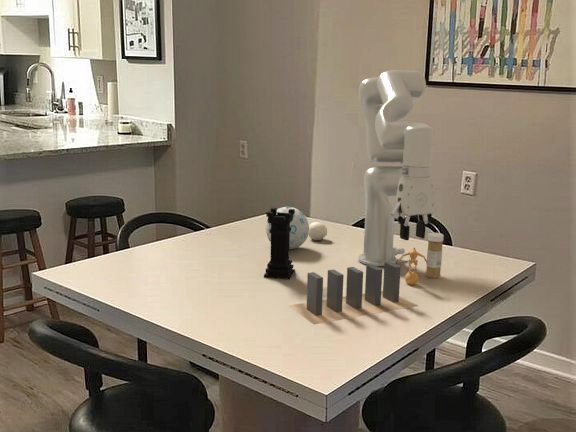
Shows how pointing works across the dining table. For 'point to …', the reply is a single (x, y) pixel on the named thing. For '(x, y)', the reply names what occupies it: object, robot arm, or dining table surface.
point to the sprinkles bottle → (434, 255)
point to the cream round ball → (317, 231)
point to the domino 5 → (391, 281)
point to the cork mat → (351, 309)
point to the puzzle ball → (294, 228)
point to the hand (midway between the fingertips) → (412, 237)
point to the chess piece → (280, 245)
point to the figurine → (410, 277)
